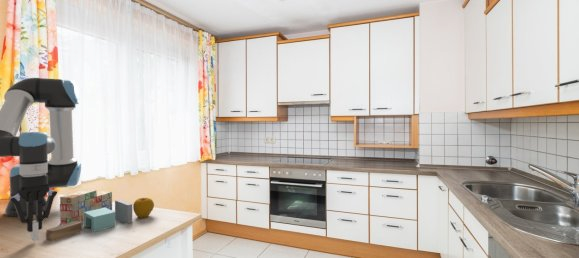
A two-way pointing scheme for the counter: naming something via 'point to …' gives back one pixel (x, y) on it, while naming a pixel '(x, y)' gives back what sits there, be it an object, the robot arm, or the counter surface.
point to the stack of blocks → (82, 204)
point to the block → (99, 219)
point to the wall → (123, 211)
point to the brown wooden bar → (63, 230)
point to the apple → (143, 207)
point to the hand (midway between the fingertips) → (34, 239)
